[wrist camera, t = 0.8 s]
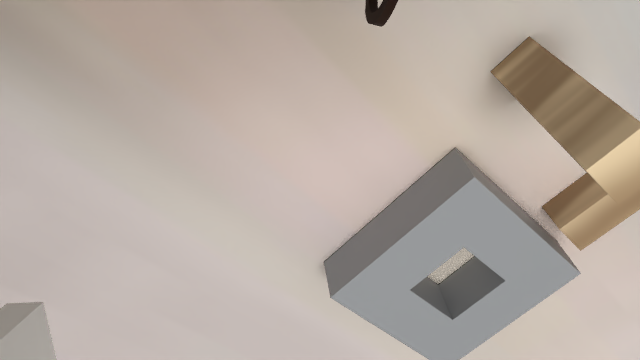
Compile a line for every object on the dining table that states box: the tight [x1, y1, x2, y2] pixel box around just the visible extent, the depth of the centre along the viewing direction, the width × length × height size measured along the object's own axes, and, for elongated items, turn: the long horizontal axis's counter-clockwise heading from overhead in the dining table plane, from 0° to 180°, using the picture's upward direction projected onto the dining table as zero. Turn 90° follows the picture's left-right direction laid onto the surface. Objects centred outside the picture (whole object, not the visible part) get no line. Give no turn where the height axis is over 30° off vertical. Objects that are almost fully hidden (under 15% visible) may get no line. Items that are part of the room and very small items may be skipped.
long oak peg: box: [491, 37, 640, 205], centre depth 28 cm, size 3×3×11 cm
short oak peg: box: [542, 173, 640, 251], centre depth 38 cm, size 3×6×3 cm, turn 135°
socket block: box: [324, 147, 581, 360], centre depth 39 cm, size 12×12×4 cm
